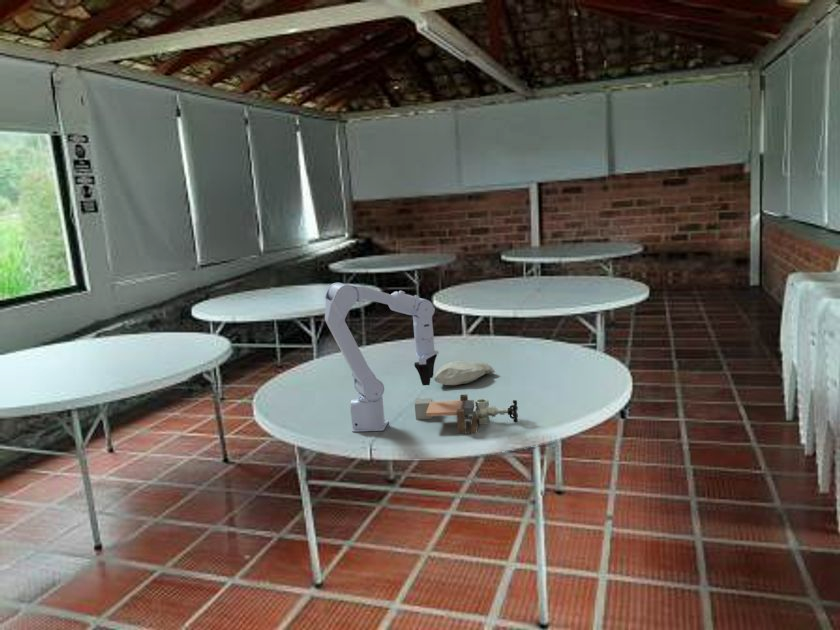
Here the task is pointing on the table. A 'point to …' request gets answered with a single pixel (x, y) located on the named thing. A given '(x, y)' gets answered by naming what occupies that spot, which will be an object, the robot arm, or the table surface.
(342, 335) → the robot arm
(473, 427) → the frame
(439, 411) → the trapdoor
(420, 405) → the stone block
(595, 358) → the table surface
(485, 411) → the valve
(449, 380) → the rock
